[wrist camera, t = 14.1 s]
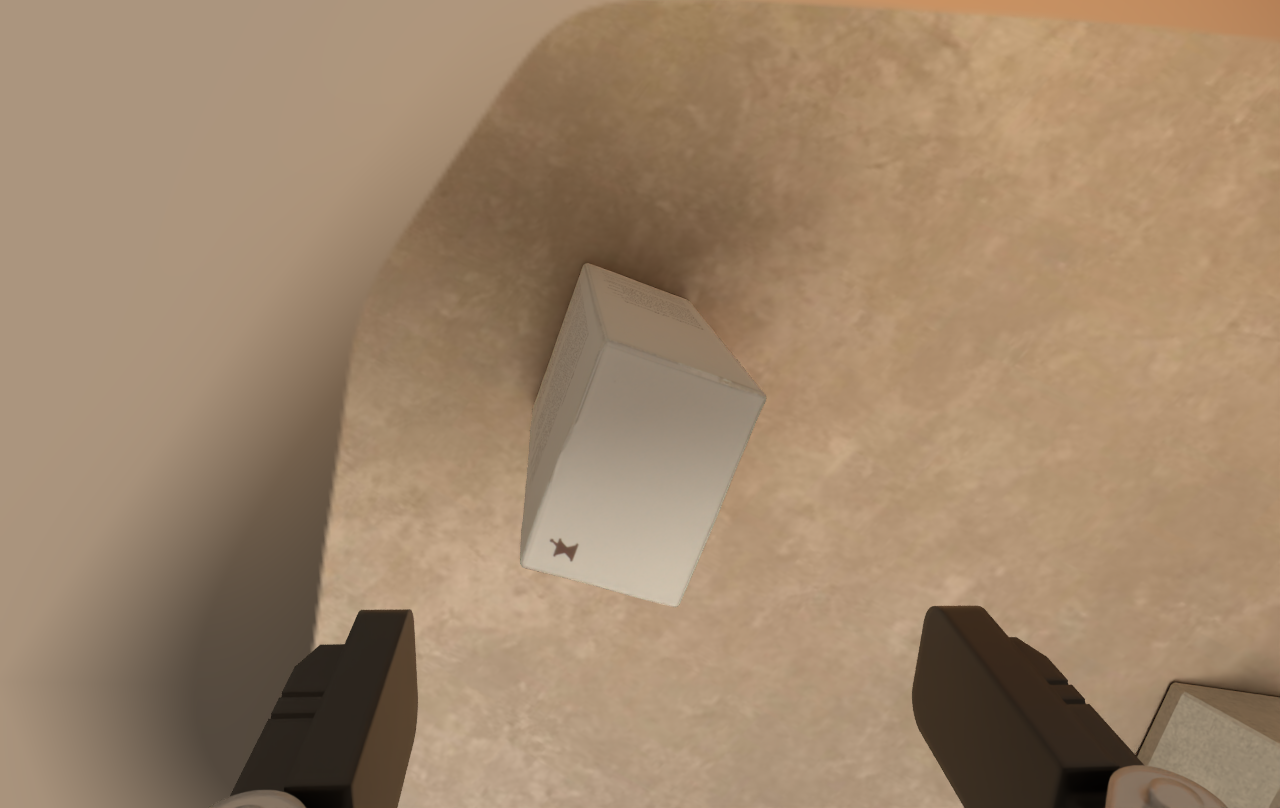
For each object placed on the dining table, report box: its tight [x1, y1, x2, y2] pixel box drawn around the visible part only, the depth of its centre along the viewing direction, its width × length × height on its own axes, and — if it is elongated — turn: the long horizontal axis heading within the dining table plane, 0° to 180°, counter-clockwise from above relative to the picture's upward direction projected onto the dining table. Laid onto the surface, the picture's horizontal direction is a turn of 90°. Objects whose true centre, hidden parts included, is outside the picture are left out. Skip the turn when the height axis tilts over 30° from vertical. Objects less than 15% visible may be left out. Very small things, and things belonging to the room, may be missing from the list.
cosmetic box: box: [520, 263, 766, 607], centre depth 25 cm, size 6×4×12 cm
